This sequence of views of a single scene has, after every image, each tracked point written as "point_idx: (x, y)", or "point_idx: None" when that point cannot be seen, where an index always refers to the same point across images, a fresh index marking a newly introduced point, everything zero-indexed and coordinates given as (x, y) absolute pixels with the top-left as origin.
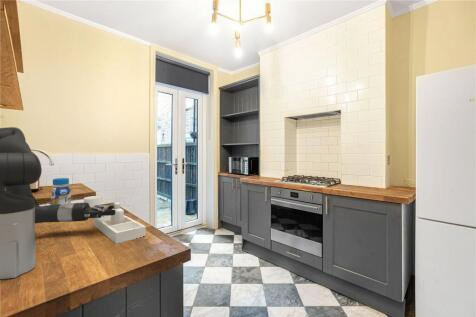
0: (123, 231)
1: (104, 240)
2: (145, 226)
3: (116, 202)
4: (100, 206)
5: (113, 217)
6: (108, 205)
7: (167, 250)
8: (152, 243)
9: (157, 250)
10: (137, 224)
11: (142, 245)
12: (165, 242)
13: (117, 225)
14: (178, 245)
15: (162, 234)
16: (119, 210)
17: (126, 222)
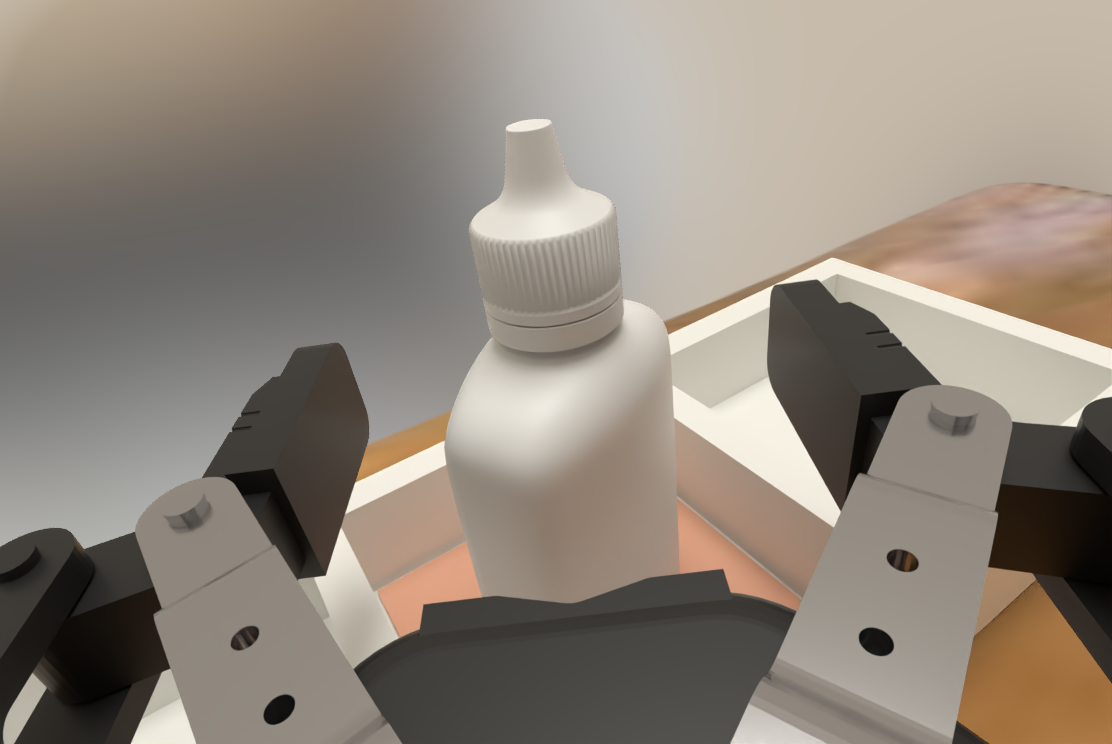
0: (1079, 339)
1: (1092, 670)
2: (834, 259)
3: (572, 182)
4: (360, 675)
5: (650, 506)
6: (214, 519)
7: (1071, 219)
8: (981, 285)
9: (1100, 246)
10: (741, 327)
11: (1053, 317)
12: (934, 246)
13: (813, 480)
14: (964, 204)
15: (764, 282)
16: (649, 310)
17: (681, 415)
